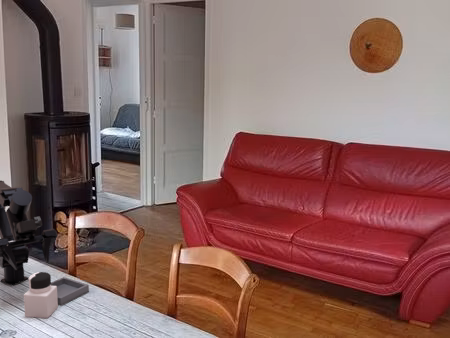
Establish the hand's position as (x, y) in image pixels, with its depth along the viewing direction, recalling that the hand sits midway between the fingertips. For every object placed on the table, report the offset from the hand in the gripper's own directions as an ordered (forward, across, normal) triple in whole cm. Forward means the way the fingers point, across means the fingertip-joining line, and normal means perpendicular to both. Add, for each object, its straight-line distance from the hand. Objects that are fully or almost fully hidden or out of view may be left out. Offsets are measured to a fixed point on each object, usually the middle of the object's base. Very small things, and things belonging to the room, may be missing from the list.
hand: (32, 265), depth 152 cm
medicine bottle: (+13, 0, +5) cm, 14 cm away
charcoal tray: (+8, +9, +10) cm, 16 cm away
